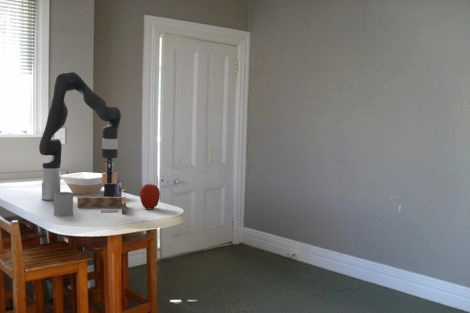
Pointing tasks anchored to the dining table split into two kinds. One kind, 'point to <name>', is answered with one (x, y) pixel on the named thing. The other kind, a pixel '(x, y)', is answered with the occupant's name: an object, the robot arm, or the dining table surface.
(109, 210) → the pad
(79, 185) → the bowl
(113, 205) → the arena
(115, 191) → the small box
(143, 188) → the apple
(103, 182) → the block
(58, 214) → the cup
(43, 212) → the dining table surface
